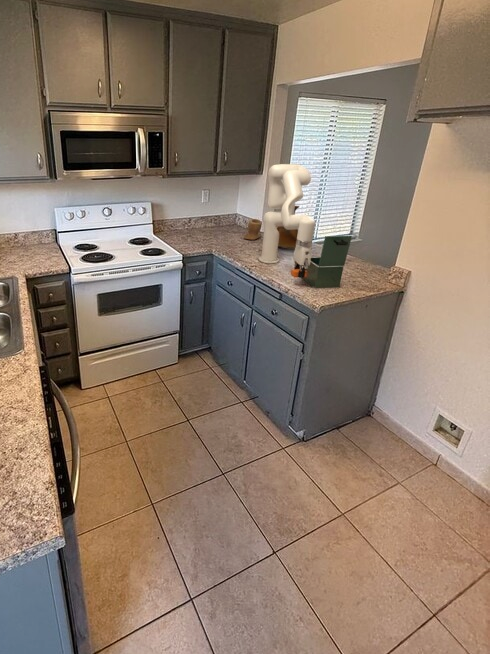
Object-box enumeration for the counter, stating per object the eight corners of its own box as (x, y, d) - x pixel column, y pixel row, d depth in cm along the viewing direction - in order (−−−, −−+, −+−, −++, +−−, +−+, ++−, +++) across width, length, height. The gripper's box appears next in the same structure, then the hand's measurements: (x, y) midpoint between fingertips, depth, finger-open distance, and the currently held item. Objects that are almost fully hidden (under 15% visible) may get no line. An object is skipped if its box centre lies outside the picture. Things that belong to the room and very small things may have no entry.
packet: (294, 277, 187) (295, 272, 186) (290, 274, 191) (291, 269, 190) (306, 277, 188) (307, 272, 187) (303, 273, 192) (303, 268, 191)
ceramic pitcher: (302, 245, 259) (308, 203, 248) (299, 253, 242) (305, 209, 231) (274, 241, 266) (279, 201, 255) (269, 249, 249) (274, 206, 238)
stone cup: (255, 242, 266) (257, 222, 260) (241, 239, 273) (243, 219, 268) (264, 237, 276) (267, 218, 271) (251, 235, 284) (252, 216, 278)
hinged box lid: (325, 236, 176) (330, 240, 171) (351, 235, 177) (357, 239, 172) (318, 266, 183) (323, 270, 178) (343, 265, 184) (349, 269, 180)
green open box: (301, 277, 202) (304, 257, 197) (324, 276, 203) (327, 256, 199) (315, 288, 187) (318, 267, 183) (339, 287, 189) (343, 266, 184)
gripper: (319, 247, 175) (313, 281, 182) (303, 237, 190) (298, 269, 198) (304, 248, 174) (299, 282, 181) (290, 238, 190) (285, 269, 197)
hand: (298, 275), depth 189 cm, fingers closed on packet, 4 cm apart
